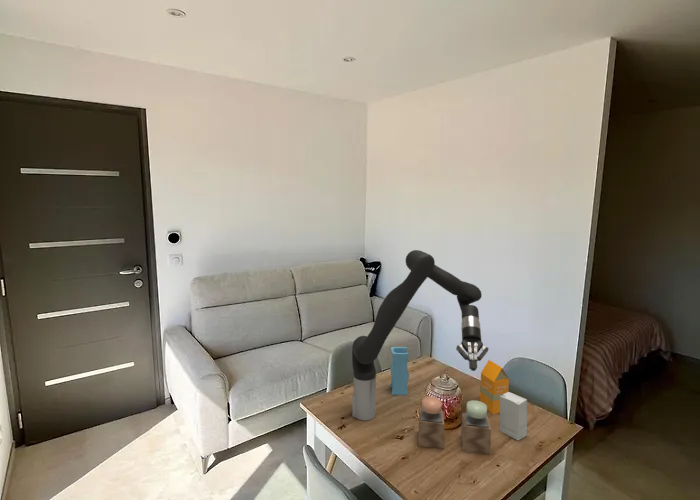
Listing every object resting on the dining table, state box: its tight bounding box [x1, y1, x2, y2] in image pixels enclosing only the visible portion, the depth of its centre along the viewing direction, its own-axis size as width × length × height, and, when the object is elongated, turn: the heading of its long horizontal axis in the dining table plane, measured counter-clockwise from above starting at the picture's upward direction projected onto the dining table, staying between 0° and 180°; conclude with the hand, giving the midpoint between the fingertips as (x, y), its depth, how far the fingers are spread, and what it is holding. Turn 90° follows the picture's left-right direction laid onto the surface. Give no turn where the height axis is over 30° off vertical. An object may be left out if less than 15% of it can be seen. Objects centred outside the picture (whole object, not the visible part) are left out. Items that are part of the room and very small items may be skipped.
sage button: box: [465, 399, 488, 419], centre depth 139 cm, size 7×7×3 cm
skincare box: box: [499, 391, 528, 441], centre depth 147 cm, size 8×6×15 cm
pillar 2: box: [460, 412, 492, 455], centre depth 140 cm, size 9×9×10 cm
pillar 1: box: [417, 408, 445, 450], centre depth 143 cm, size 9×9×10 cm
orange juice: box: [479, 359, 510, 415], centre depth 164 cm, size 8×9×20 cm
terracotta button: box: [421, 395, 442, 414], centre depth 142 cm, size 7×7×3 cm
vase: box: [389, 346, 410, 396], centre depth 179 cm, size 8×8×20 cm
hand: (473, 370), depth 149 cm, fingers closed
